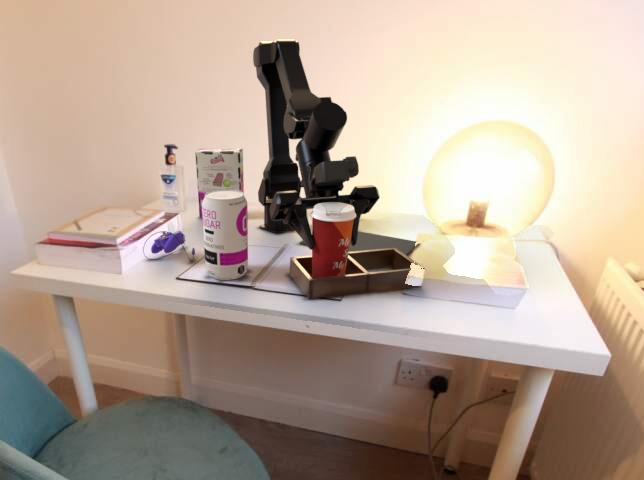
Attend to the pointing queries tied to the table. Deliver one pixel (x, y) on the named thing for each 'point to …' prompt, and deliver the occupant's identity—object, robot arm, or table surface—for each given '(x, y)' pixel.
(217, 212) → the supplement can
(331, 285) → the divided tray
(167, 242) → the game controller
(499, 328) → the table surface
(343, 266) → the paper cup
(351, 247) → the desk mat
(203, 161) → the candy bar box
